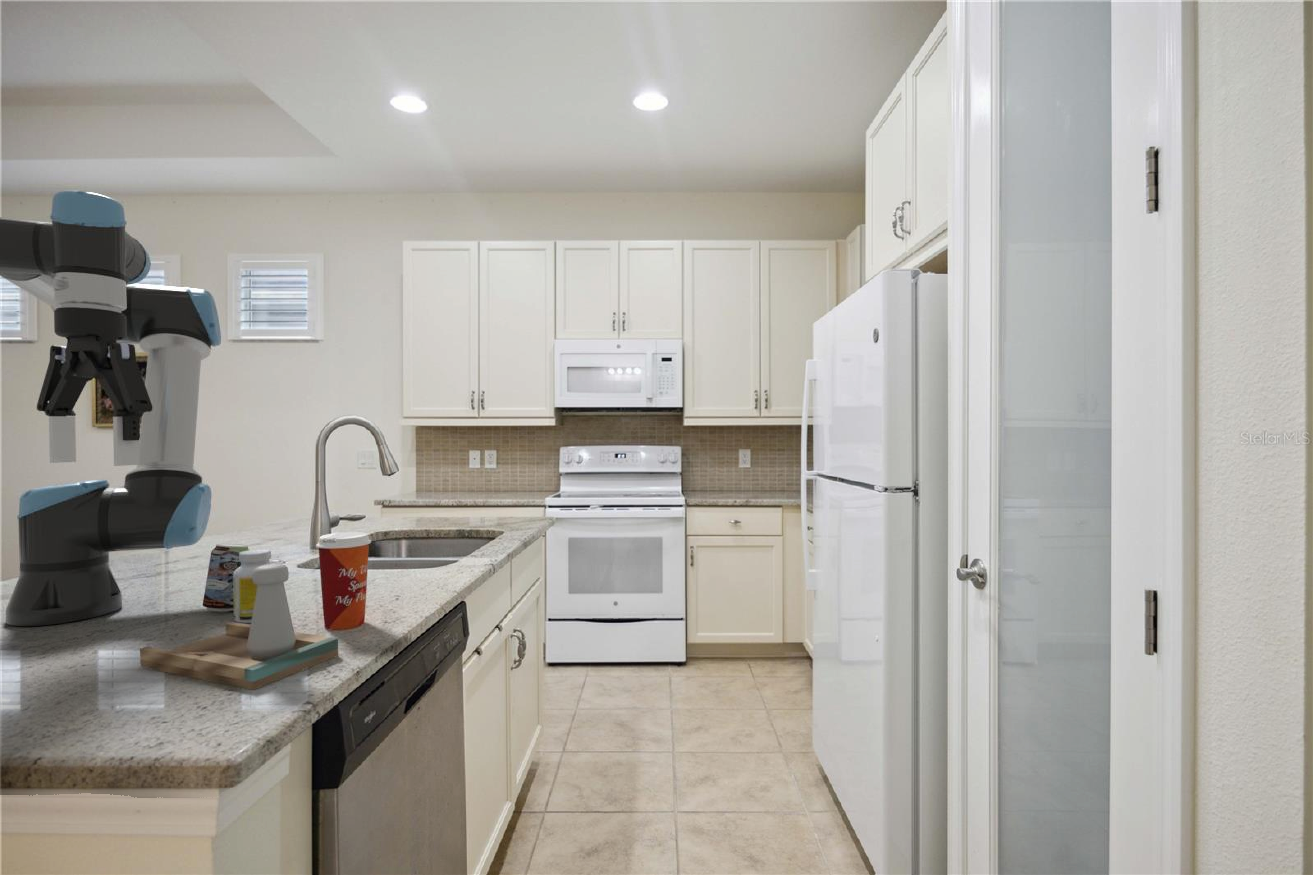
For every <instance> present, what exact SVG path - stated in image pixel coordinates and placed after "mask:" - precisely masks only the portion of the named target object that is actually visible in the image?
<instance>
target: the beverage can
mask: <svg viewBox="0 0 1313 875" xmlns="http://www.w3.org/2000/svg"><path fill="white" fill-rule="evenodd" d="M249 550H250V549H249V545H248V544H242V543H241V544H239V543H238V544H237V543H218V544H217V543H216V544H215V547H213V549H212V550H211V552H210V557H209V563H208V570H207V576H206V581H205V587H204V594H203V599H202V606H203V607H205V608H206V610H207V611H211V612H231V611H233V612H234V597H233V573H234V571H235V570H236V569H237V568H238V567H240V566H241V562H240V561H239V553H240V552H243V551H249Z"/></svg>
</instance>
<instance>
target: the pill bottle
mask: <svg viewBox="0 0 1313 875" xmlns="http://www.w3.org/2000/svg"><path fill="white" fill-rule="evenodd" d="M270 559H272V550H271V549H264V548H263V549H260V548H259V549H249V551H243V552H240V553H239V561H240V562H241V566H240V567H238V568H237V569H236V570H235V571H234V573H233V597H234V610H233V619H234V622H235V623H242V624H251V621H252V615H253V610H254V604H255V598H256V593H257V587H258V585H256V584H254V583H253V578H252V576H253V571H254V570H255V569H256V568H257V567H259V566H262V565H267V564H272V563H271V562H270Z"/></svg>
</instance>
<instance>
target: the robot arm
mask: <svg viewBox="0 0 1313 875" xmlns="http://www.w3.org/2000/svg"><path fill="white" fill-rule="evenodd" d="M51 202H52V203H51V213H50V216H49V219H50V220H51V222H46V221H45V222H44V221H35V220H27V219H26V220H25V219H17V218H9V217H2V216H1V217H0V277H1V278H3V279H5V280H6V281H8V282H10V283H12V284H13V285H15V286H17V287H18V288H20V289H21V290H23V291H25V292H26V293H28V294H30V295H31V296H33V297H35V298H37V299H39V300H40V301H41V302H43V303H45V304H46V305H49V306H50V309H51V310H52V312H53V317H54V318H53V319H54V320H53V322H54V325H53V326H54V328H53V329H54V331H53V332H54V334H55V335H56V336H58V337H61V338H65V339H66V340H67V342H66V346H65V345H55V344H53V345H51V346H50V349H49V361H48V366H47V369H46V373H45V374H44V375H45V376H44V378H43V383H42V385H41V386H42V387H41V390H40V393H39V395H38V396H39V397H38V401H37V404H36V410H37V411H38V412H44V414H45V416H47V417H48V433H49V434H48V436H49V437H48V439H49V440H48V441H49V444H48V445H49V463H51V464H58V463H72V462H73V463H75V462H77V444H76V443H77V442H76V441H77V439H76V438H77V436H76V435H77V434H76V415H77V414H76V412H75V411H74V408H75V406H76V404H77V402H78V400H79V398H80V396H81V394H82V392H83V391H84V388H85V386H86V385H87V383H88V382H89V381H92V380H93V379H95V380H97V381H98V382H99V383H100V385H101V387H102V389H103V390H104V392H105V394H106V395H107V397H108V399H109V401H110V403H111V404H112V406H113V407H114V409H115V410H114V412H113V413H112V429H113V432H112V434H113V435H112V437H113V439H112V440H113V466H114V467H122V466H123V467H125V466H136V467H135V468H134V469H132V470H131V471H129V472H127V473H126V474H125V477H124V485H123V486H110V483H109V481H108V479H105V478H103V479H95V480H93V479H92V480H85V481H83V480H82V481H78V482H77V481H76V482H69V483H63V484H55V485H49V486H42V487H37V488H32V489H31V488H30V489H28V490H26V491H24V492H23V493H22V494H21V495H20V498H19V507H18V515H17V517H16V518H17V520H18V550H19V551H18V552H19V557H18V558H19V576H18V579H17V581H16V584H15V586H14V589H13V590H12V594H11V596H10V598H9V600H8V602H7V606H6V609H5V623H6V624H7V625H8V626H14V627H15V626H16V627H36V626H38V627H39V626H49V625H56V624H63V623H66V624H67V623H71V622H77V621H83V620H86V619H88V620H89V619H92V618H96V617H100V616H104V615H107V614H110V613H113V612H116V611H118V610H120V609H121V608H122V606H123V596H122V591H121V589H120V587H119V585H118V583H117V581H116V578H115V576H114V573H113V571H112V569H111V568H110V553H111V552H125V551H137V550H138V551H139V550H140V551H141V550H143V551H144V550H156V549H157V550H158V549H166V550H171V549H173V548H179V547H181V548H182V547H190V546H194V545H196V544H197V543H198V542H200V540H201V539H202V537H203V536H204V534H205V532H206V530H207V526H208V522H209V519H210V513H211V508H212V503H211V502H212V491H211V487H210V486H209V485H208V484H205V483H204V482H203V476H202V475H201V474H200V473H199V472H197V471H196V470H195V468H194V464H195V462H194V461H195V460H194V459H195V451H196V450H195V447H196V433H197V419H198V406H199V392H200V378H201V363H202V361H203V360H204V359H207V358H208V357H210V354H211V350H212V347H218V346H220V345H221V342H222V336H221V335H222V334H221V326H220V325H221V324H220V320H219V315H218V310H217V305H216V302H215V298H214V296H213V295H212V293H211V292H210V291H208V290H207V289H201V288H193V287H192V288H191V287H189V286H184V287H180V286H167V285H157V284H146V283H145V284H144V283H143V284H142V283H140V282H141V281H143V280H144V279H146V277H147V276H148V274H149V272H150V270H151V265H152V263H151V259H150V258H151V257H150V255H149V253H148V252H147V250H146V249H145V247H144V246H143V245H142V243H141V242H140V241H139V240H138V239H136V238H135V237H133V236H131V235H130V234H129V233H128V232H127V231H126V225H127V224H128V223H127V221H126V218H125V217H126V216H125V207H124V205H122V203H120V202H119V201H118V200H116V199H114V198H112V197H109V196H106V195H102V194H99V193H95V192H89V191H80V190H61V191H58V192H56V193H55V194H54V195H53V196H52V201H51ZM121 342H132V343H134V342H135V343H139V344H138V345H139V348H140V349H141V350H142V351H143V352H144V353H145V354H146V355H147V360H146V361H147V362H146V370H145V371H146V372H145V382H144V378H143V377H142V373H141V371H140V367H139V364H138V362H137V356H136V355H137V354H136V347H135V345H134V344H132V343H121ZM211 346H212V347H211Z"/></svg>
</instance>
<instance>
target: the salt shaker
mask: <svg viewBox="0 0 1313 875" xmlns="http://www.w3.org/2000/svg"><path fill="white" fill-rule="evenodd" d="M252 578H253V583H254V584H256V585H258V587H257V593H256V598H255V604H254V610H253V615H252V621H251V623H250V625H251V626H250V632H249V637H248V642H247V650H248V652H249V654H250V656H251V658H252V660H256V661H261V662H264V661H266V660H269V659H272V658H275V657H277V656H280V655H283V654H286V653H288V652H291V651H292V649H293V647H294V645H295V640H296V639H295V634H294V632H295V629H294V626H293V625H294V624H293V620H292V615H291V612H290V607H289V602H288V597H287V593H286V587H285V582H287V581H288V579H289V569H288V566H286V564H282V563H271V564H267V565H262V566H259V567H257V568H256V569H255V570H254V571H253V576H252Z"/></svg>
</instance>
